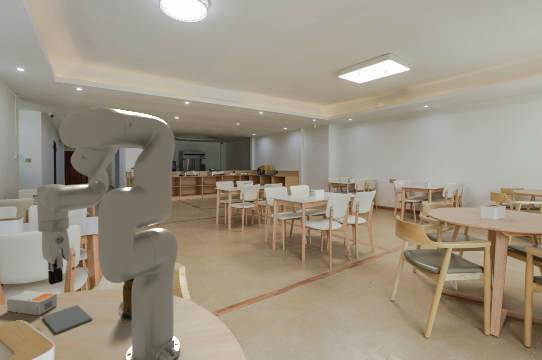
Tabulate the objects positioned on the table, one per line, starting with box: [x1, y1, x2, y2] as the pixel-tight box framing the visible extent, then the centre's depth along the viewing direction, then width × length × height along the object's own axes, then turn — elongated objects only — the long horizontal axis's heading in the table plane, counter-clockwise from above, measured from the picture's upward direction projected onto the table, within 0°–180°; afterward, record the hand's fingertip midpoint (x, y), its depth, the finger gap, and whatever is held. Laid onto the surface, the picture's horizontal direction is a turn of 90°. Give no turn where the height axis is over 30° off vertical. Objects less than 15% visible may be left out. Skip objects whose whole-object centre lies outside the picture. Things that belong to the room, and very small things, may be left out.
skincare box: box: [6, 290, 58, 316], centre depth 90 cm, size 6×4×12 cm
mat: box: [42, 304, 93, 335], centre depth 84 cm, size 12×9×1 cm
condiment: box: [118, 278, 134, 323], centre depth 88 cm, size 7×8×12 cm
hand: (55, 282), depth 88 cm, fingers closed
